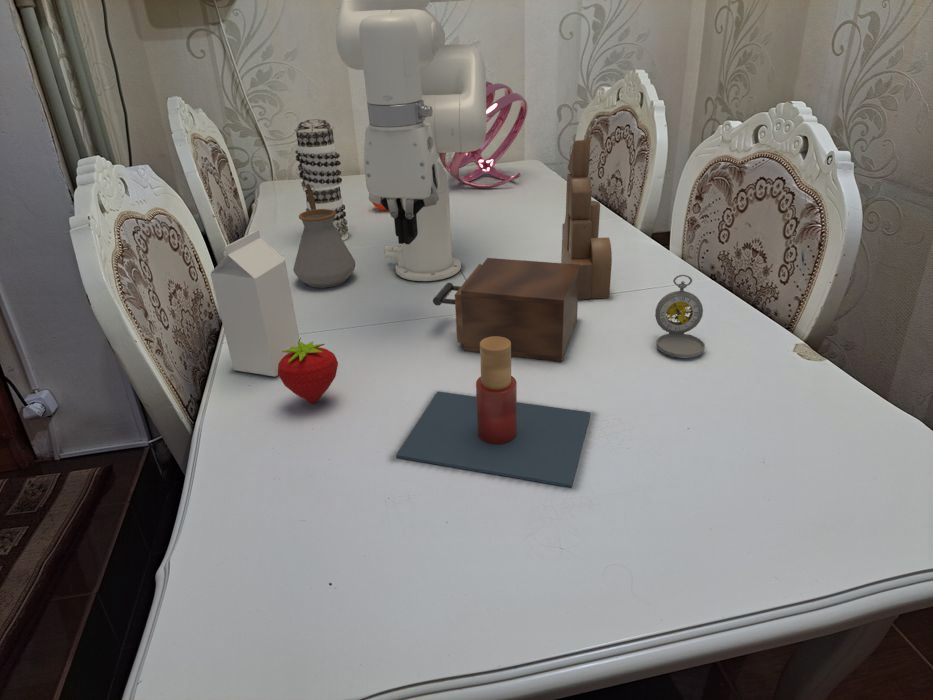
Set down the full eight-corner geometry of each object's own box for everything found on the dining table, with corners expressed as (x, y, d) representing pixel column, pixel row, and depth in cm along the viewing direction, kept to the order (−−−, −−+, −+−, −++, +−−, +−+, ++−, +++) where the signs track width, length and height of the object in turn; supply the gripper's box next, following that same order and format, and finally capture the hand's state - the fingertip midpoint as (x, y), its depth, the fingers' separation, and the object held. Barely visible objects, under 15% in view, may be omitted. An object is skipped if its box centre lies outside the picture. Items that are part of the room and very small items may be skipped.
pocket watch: (679, 365, 89) (687, 298, 84) (638, 341, 96) (644, 278, 91) (722, 350, 92) (733, 285, 88) (679, 328, 99) (687, 266, 94)
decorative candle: (300, 242, 143) (280, 124, 131) (323, 229, 150) (307, 117, 138) (335, 246, 139) (318, 125, 128) (357, 233, 147) (343, 118, 135)
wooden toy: (611, 298, 110) (622, 147, 98) (572, 300, 110) (578, 149, 98) (594, 266, 123) (602, 130, 111) (559, 267, 123) (563, 131, 111)
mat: (396, 457, 73) (395, 454, 73) (437, 393, 85) (437, 391, 85) (571, 487, 68) (571, 484, 68) (590, 414, 79) (590, 412, 79)
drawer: (427, 339, 97) (423, 291, 93) (453, 305, 107) (451, 261, 104) (546, 352, 92) (547, 302, 88) (562, 316, 102) (563, 270, 99)
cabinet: (463, 350, 95) (460, 290, 91) (488, 312, 107) (487, 257, 102) (561, 362, 91) (564, 300, 87) (576, 321, 102) (579, 264, 98)
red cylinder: (472, 441, 75) (469, 350, 69) (483, 419, 79) (481, 331, 73) (511, 447, 74) (510, 355, 68) (520, 424, 77) (520, 335, 72)
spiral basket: (572, 108, 170) (497, 45, 174) (505, 153, 156) (426, 83, 160) (535, 180, 194) (471, 123, 198) (475, 224, 180) (407, 162, 184)
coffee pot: (361, 286, 119) (351, 206, 112) (298, 296, 116) (283, 214, 109) (346, 250, 137) (336, 179, 130) (291, 257, 134) (278, 185, 127)
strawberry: (346, 409, 83) (335, 340, 78) (286, 420, 81) (271, 350, 76) (340, 386, 88) (330, 320, 83) (283, 396, 86) (270, 329, 81)
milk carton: (303, 354, 96) (280, 231, 87) (275, 378, 90) (248, 248, 81) (262, 348, 98) (236, 228, 89) (233, 371, 92) (202, 244, 83)
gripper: (455, 110, 90) (461, 235, 99) (358, 109, 94) (372, 230, 103) (438, 121, 84) (446, 253, 93) (334, 119, 88) (352, 246, 97)
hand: (407, 240), depth 98 cm, fingers closed
